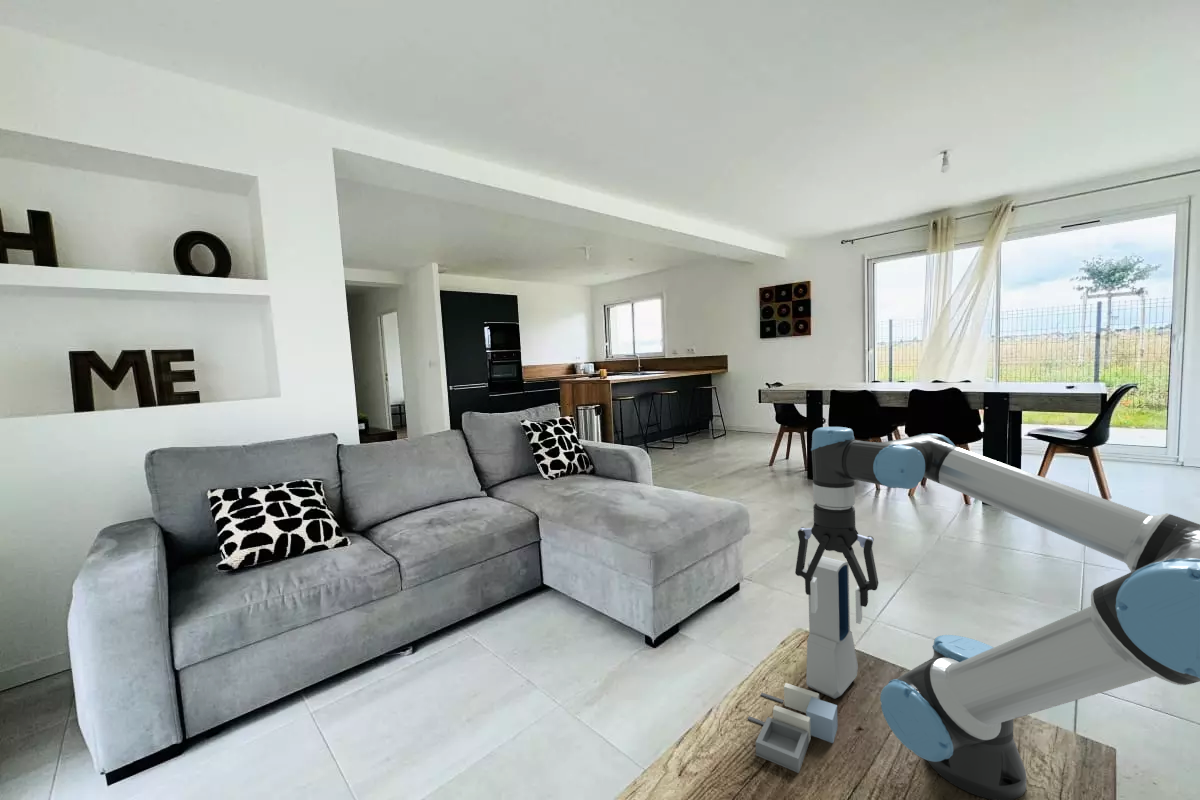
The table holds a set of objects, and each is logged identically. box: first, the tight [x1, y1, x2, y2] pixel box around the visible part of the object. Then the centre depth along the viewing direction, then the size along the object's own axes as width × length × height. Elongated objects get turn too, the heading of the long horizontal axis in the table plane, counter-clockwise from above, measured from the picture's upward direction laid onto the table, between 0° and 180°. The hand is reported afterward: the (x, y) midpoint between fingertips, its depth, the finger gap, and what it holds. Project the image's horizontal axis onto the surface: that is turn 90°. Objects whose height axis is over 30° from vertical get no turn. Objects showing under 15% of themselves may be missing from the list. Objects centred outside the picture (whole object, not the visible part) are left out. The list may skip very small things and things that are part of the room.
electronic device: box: [806, 555, 859, 699], centre depth 114 cm, size 12×8×30 cm, turn 133°
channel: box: [772, 682, 820, 744], centre depth 104 cm, size 7×10×4 cm
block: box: [805, 697, 839, 744], centre depth 101 cm, size 5×5×5 cm
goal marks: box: [747, 692, 784, 726], centre depth 108 cm, size 5×10×1 cm, turn 145°
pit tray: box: [755, 716, 810, 774], centre depth 96 cm, size 8×8×3 cm
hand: (836, 615), depth 98 cm, fingers open, 8 cm apart
